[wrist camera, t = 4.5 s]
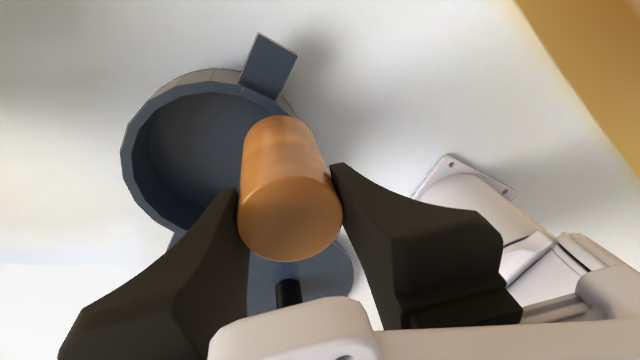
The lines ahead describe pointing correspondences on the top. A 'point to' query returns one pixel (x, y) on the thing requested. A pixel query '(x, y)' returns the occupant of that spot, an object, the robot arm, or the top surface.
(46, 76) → the top surface
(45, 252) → the top surface
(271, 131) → the peg
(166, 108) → the pot
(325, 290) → the lid
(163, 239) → the top surface
